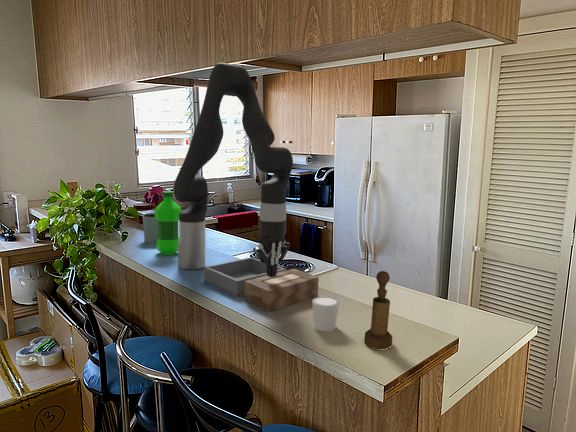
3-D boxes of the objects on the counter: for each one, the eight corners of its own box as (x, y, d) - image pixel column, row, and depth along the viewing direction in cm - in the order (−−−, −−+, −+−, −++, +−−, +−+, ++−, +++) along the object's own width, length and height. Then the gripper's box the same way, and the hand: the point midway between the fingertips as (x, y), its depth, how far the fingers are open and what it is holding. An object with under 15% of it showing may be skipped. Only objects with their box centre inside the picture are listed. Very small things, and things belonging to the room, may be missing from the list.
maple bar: (271, 293, 127) (271, 284, 127) (262, 289, 130) (262, 281, 130) (301, 284, 135) (301, 276, 135) (291, 281, 138) (292, 273, 138)
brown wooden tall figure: (392, 352, 102) (398, 277, 99) (363, 348, 103) (368, 274, 100) (391, 339, 108) (397, 268, 105) (364, 336, 110) (369, 266, 106)
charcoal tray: (237, 297, 133) (237, 281, 132) (204, 281, 146) (204, 267, 145) (285, 283, 147) (286, 269, 146) (251, 270, 159) (251, 257, 159)
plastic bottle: (175, 257, 173) (174, 194, 168) (150, 255, 174) (149, 192, 170) (186, 251, 182) (185, 191, 178) (162, 249, 184) (161, 189, 180)
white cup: (318, 334, 110) (320, 307, 109) (306, 323, 116) (307, 297, 115) (342, 330, 113) (344, 304, 111) (329, 319, 119) (330, 294, 118)
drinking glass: (155, 237, 204) (155, 212, 202) (171, 240, 199) (171, 214, 197) (137, 241, 195) (137, 215, 193) (154, 245, 190) (153, 217, 188)
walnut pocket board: (268, 311, 123) (269, 291, 122) (244, 300, 131) (244, 281, 129) (317, 295, 136) (318, 277, 135) (292, 286, 144) (293, 268, 143)
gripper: (281, 213, 133) (279, 269, 136) (246, 218, 124) (245, 277, 127) (298, 217, 128) (296, 275, 131) (263, 222, 119) (262, 284, 122)
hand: (271, 276), depth 129 cm, fingers closed
